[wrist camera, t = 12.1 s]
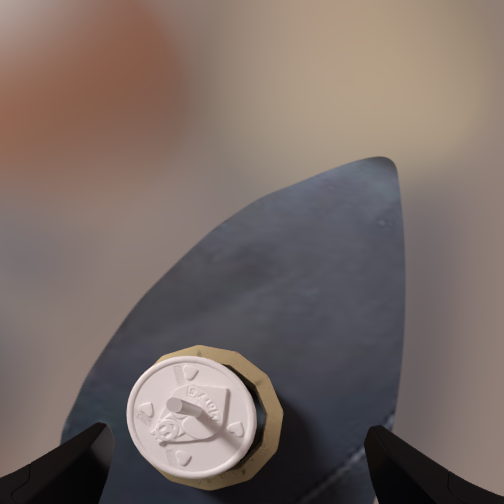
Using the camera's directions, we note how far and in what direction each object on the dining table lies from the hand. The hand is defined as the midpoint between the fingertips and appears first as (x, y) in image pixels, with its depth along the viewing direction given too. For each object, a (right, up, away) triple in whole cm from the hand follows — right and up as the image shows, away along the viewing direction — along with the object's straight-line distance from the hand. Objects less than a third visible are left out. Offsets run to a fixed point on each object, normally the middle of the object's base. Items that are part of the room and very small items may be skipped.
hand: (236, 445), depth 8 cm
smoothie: (-2, -7, +12) cm, 14 cm away
